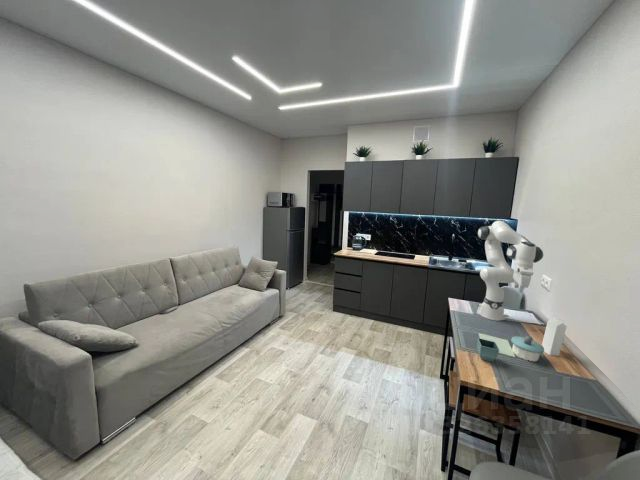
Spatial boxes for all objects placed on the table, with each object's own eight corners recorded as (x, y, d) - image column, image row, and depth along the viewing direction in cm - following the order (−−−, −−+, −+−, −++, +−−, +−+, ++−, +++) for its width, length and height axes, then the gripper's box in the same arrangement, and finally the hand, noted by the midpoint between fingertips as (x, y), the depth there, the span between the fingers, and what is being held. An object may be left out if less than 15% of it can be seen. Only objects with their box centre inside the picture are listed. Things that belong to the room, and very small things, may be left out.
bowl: (510, 346, 158) (512, 337, 157) (534, 352, 153) (536, 343, 152) (515, 357, 147) (517, 347, 146) (541, 364, 142) (543, 354, 141)
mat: (478, 333, 171) (478, 333, 171) (507, 341, 164) (507, 340, 164) (482, 349, 153) (483, 348, 153) (515, 357, 146) (515, 357, 146)
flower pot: (496, 365, 138) (499, 350, 137) (478, 360, 141) (481, 345, 140) (492, 356, 146) (495, 341, 145) (474, 351, 149) (477, 337, 148)
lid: (508, 335, 159) (510, 327, 158) (538, 343, 153) (540, 335, 152) (514, 347, 145) (516, 339, 145) (548, 356, 139) (550, 347, 138)
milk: (549, 349, 158) (558, 316, 154) (559, 355, 152) (568, 321, 148) (540, 349, 157) (548, 315, 154) (549, 355, 151) (558, 320, 148)
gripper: (512, 264, 167) (508, 284, 170) (521, 271, 149) (516, 294, 151) (524, 265, 165) (519, 286, 167) (534, 273, 146) (529, 296, 149)
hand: (518, 290), depth 159 cm, fingers open, 8 cm apart
